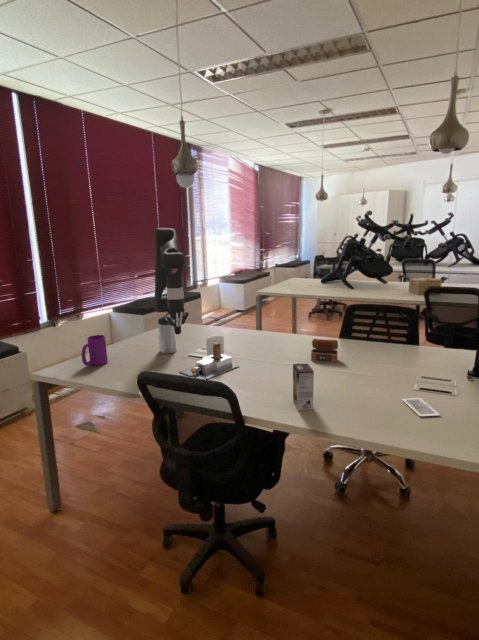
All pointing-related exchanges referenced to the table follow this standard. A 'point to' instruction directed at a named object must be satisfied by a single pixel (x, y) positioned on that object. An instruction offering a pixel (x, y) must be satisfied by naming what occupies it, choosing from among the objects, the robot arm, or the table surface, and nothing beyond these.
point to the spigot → (216, 351)
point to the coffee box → (303, 386)
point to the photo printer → (214, 339)
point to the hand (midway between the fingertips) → (177, 334)
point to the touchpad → (420, 407)
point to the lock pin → (196, 369)
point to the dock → (211, 367)
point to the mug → (95, 351)
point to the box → (324, 350)
